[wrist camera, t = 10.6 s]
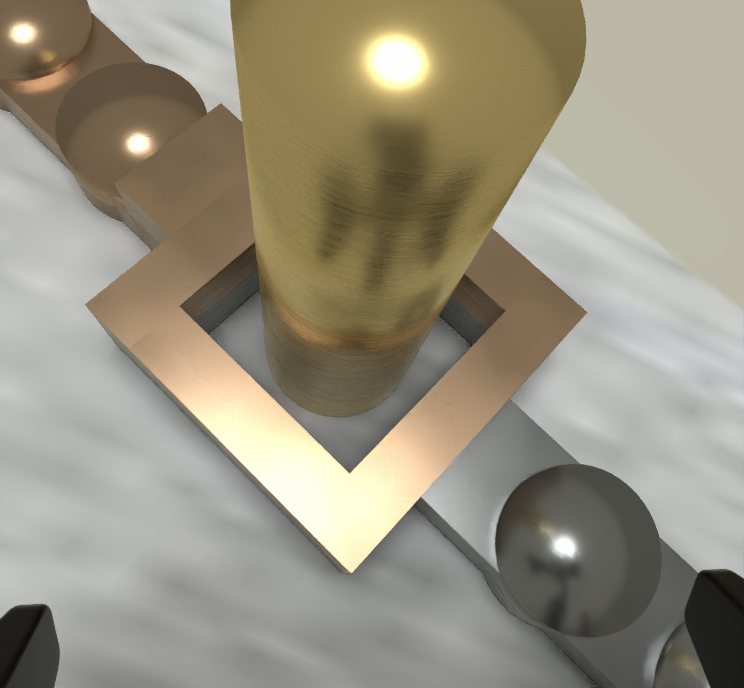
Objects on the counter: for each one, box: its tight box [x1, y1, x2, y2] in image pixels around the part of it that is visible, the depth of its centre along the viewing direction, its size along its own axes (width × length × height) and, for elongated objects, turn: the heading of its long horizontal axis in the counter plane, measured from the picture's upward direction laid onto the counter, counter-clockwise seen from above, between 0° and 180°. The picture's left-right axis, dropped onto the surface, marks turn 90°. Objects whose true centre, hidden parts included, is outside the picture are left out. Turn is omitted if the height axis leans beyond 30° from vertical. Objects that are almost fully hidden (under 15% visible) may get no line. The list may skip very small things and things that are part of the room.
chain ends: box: [0, 0, 710, 688], centre depth 18 cm, size 33×9×3 cm, turn 47°
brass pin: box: [230, 0, 586, 417], centre depth 14 cm, size 4×4×12 cm
